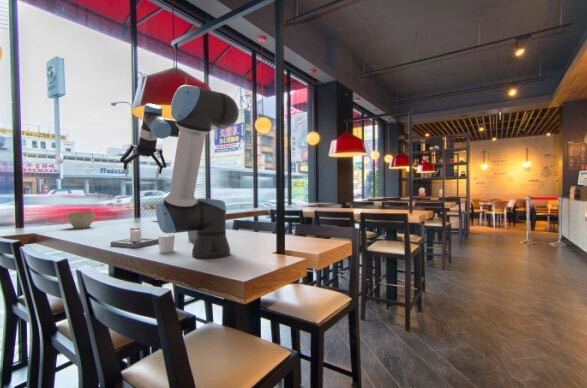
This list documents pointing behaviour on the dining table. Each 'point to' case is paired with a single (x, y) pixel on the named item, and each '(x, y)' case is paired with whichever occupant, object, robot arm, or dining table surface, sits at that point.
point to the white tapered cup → (166, 243)
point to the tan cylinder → (135, 229)
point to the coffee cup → (192, 236)
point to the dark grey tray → (134, 243)
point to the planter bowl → (81, 219)
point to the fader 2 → (136, 235)
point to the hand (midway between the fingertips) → (141, 177)
